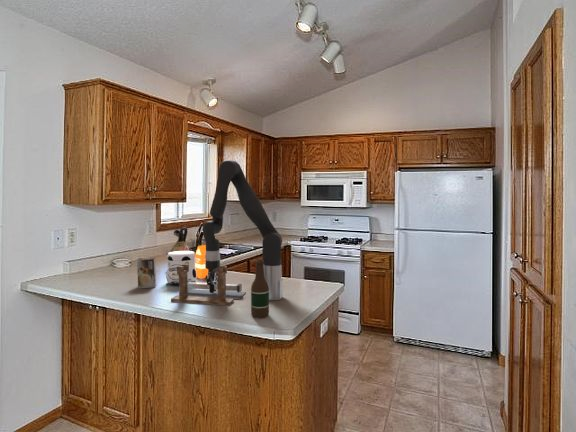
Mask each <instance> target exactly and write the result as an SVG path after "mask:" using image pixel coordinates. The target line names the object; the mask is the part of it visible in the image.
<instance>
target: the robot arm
mask: <svg viewBox="0 0 576 432" xmlns="http://www.w3.org/2000/svg"><path fill="white" fill-rule="evenodd" d="M216 181H217V182H216V186H215V192H214V196H213V199H212V202H211V206H210V210H209V215H210V216H211V218H212V219H211V220H208V221H205V222H204V223H203V224H202V229H201V230H202V234H203V235H202V236H203V237H204V238H203V239H204V242H205V245H206V253H205V268H206V269H208V275H206V276H205V277H206V278H205V280H206V283H207V285H209V289H208V290H210V293H214V291H217V290H214V283H215V284H217V276H216V268H220V266H221V252H220V240H219V239H217V238H216V234H219V233H221V231H222V229H223V225H224V224H223V223H224V215H225V211H226V207H227V203H228V191H229V187H230V184H231V183H232V185H233V187H234V188H235V190H236V193H237V197H238V201H239V205H240V206H241V208H242V209H243V211H244V213H245V215H246V216H247V218H249V220H250V221H251V223H253V224H254V226H255V227H256V228H257V229H258V231H259V233H260V234H261V237H262V244H261V245H262V248H261V249H262V252H261V253H262V260H263V261H264V277H265V280H266V282H267V284H268V287H269V301H281V299H282V298H283V291H284V290H283V288H284V287H283V286H284V285H283V284H284V283H283V277H282V271H283V270H282V261H283V260H282V244H283V239H282V236H281V235H280V233H279V232H278V230H277V229H276V228H275V226H274V225H273V224H272V222H271V221H270V218H269V216H268V214H267V212H266V210H265V208H264V206H263V204H262V202H261V201H260V199H259V197H258V196H257V195H256V193H255V191H254V189H253V188H252V187H251V185H250V183H249V182H248V180H247V178H246V176H245V174H244V172H243V169H242V167H241V165H240V163H238V161H236V160H232V159H230V160H228V159H227V160H223V161H222V162H221V163H220V164H219V166H218V172H217V180H216Z"/></svg>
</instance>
